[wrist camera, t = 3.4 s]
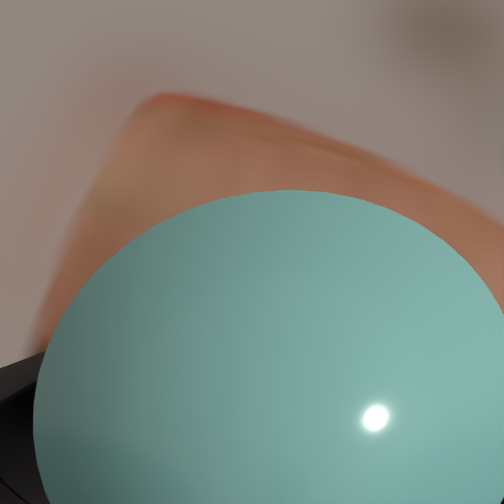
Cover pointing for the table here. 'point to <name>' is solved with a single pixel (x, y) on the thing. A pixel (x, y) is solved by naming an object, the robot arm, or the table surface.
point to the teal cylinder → (276, 364)
